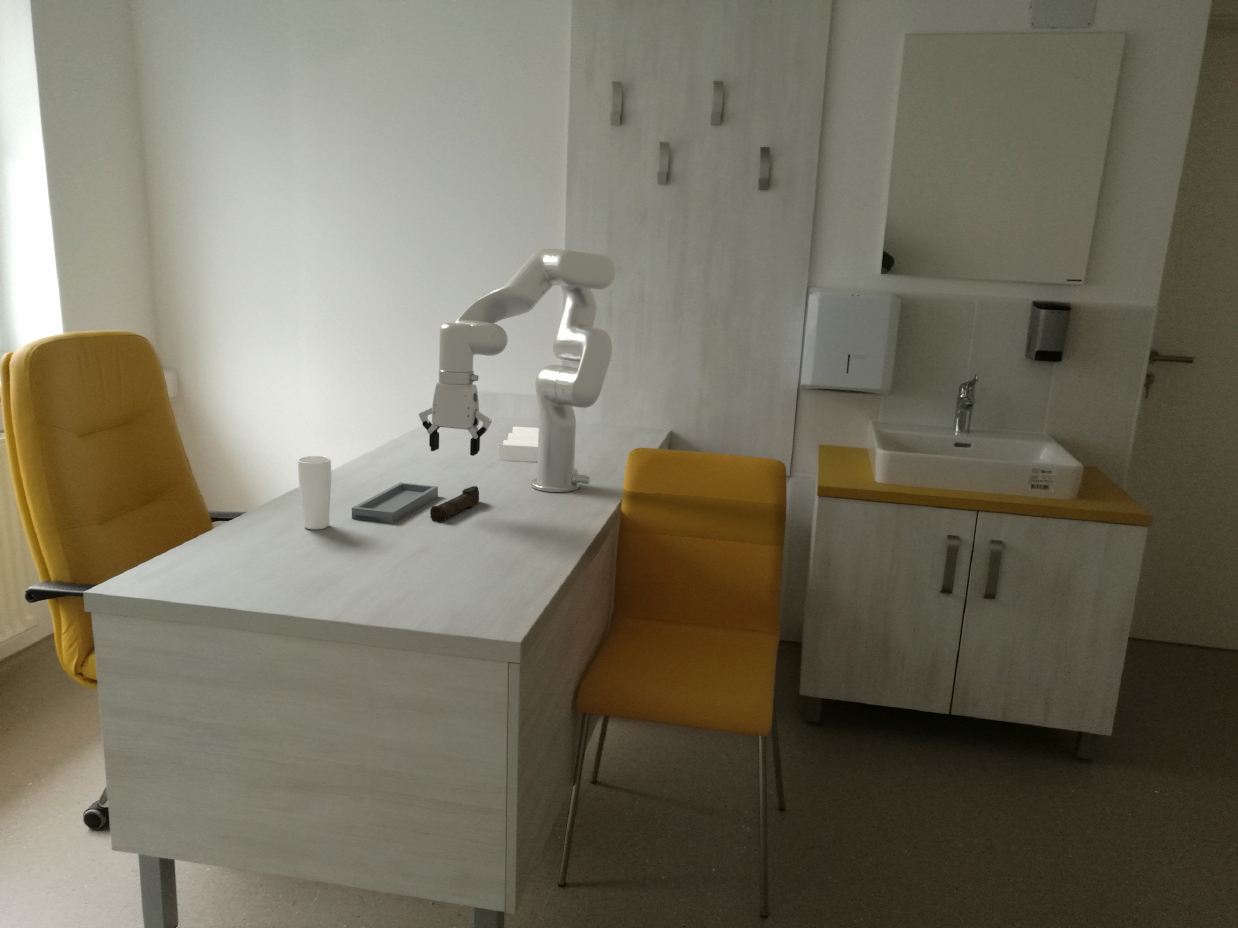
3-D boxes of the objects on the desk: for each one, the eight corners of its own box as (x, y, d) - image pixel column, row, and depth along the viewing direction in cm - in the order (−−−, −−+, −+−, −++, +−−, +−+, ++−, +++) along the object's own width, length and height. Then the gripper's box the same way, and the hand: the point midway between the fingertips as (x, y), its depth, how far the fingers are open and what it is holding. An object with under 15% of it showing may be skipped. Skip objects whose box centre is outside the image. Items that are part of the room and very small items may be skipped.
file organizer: (555, 439, 304) (555, 423, 302) (544, 464, 270) (544, 447, 268) (514, 437, 304) (515, 421, 303) (498, 462, 270) (499, 444, 269)
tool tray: (437, 496, 230) (437, 486, 230) (393, 523, 207) (392, 512, 207) (400, 492, 232) (400, 482, 232) (351, 518, 210) (351, 507, 209)
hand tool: (444, 524, 209) (444, 504, 208) (429, 521, 211) (429, 501, 210) (488, 504, 226) (488, 486, 225) (474, 502, 228) (474, 483, 227)
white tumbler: (303, 532, 198) (300, 464, 195) (297, 523, 204) (295, 457, 201) (335, 529, 201) (333, 461, 198) (329, 520, 207) (327, 454, 204)
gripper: (497, 379, 213) (495, 453, 217) (427, 373, 217) (426, 445, 220) (485, 383, 206) (483, 459, 210) (413, 376, 210) (412, 451, 213)
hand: (454, 452), depth 215 cm, fingers open, 9 cm apart
